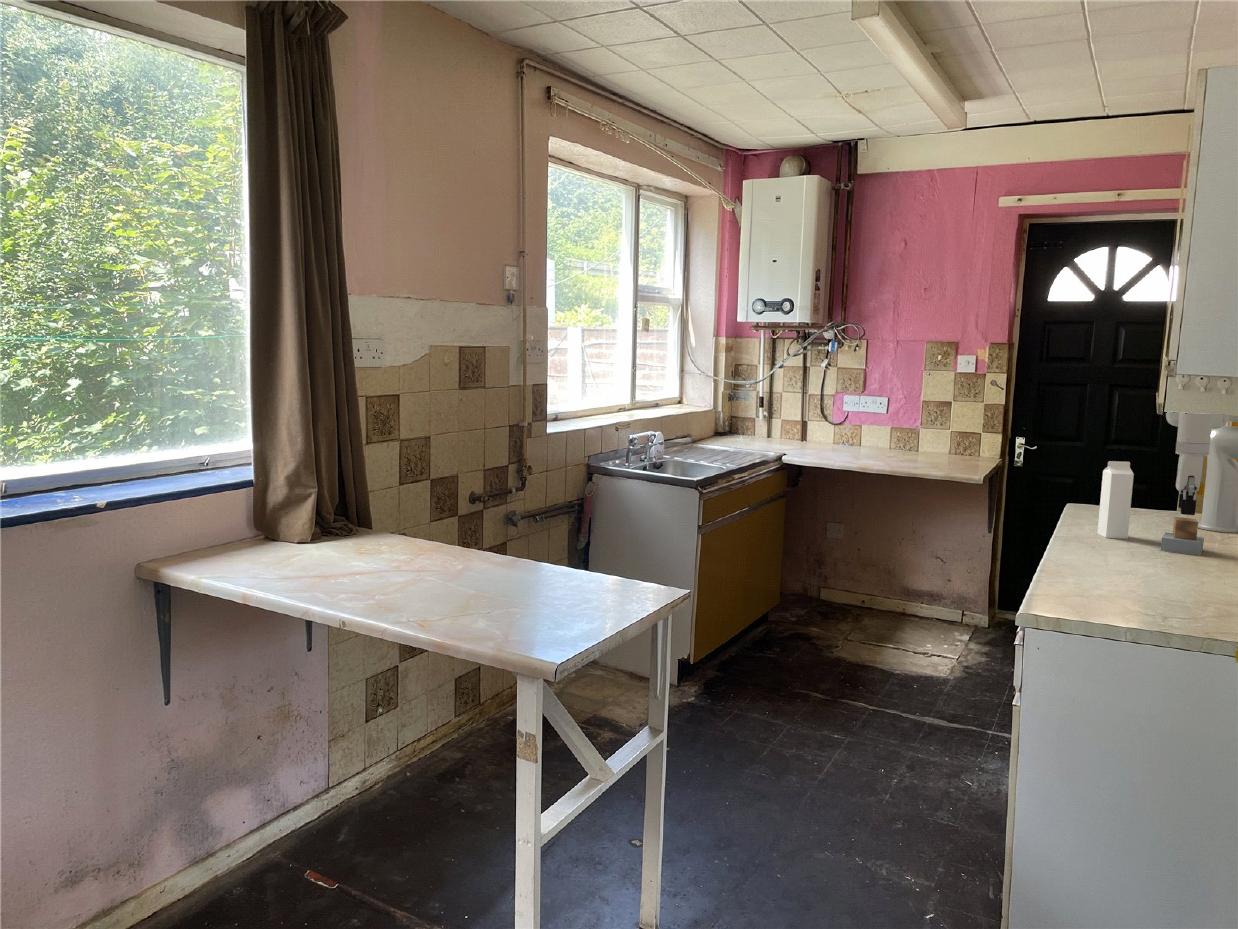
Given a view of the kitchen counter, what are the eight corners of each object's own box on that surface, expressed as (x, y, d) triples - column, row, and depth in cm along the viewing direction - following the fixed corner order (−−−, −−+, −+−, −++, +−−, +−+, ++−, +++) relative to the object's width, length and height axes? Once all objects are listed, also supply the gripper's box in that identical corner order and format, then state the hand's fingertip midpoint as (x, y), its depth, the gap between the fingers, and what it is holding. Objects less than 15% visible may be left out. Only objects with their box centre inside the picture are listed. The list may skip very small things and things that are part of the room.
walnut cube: (1194, 536, 238) (1195, 518, 238) (1196, 540, 234) (1198, 521, 233) (1172, 534, 241) (1174, 516, 240) (1174, 538, 236) (1176, 519, 235)
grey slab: (1202, 551, 239) (1204, 537, 238) (1199, 557, 232) (1201, 542, 231) (1164, 546, 244) (1165, 532, 244) (1160, 552, 237) (1161, 537, 236)
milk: (1127, 539, 251) (1135, 463, 248) (1105, 538, 252) (1113, 462, 249) (1118, 534, 257) (1125, 460, 254) (1096, 533, 258) (1103, 459, 255)
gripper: (1174, 444, 243) (1168, 504, 246) (1178, 451, 229) (1171, 515, 231) (1206, 446, 240) (1200, 507, 242) (1212, 453, 225) (1205, 518, 227)
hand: (1186, 511), depth 237 cm, fingers open, 9 cm apart
